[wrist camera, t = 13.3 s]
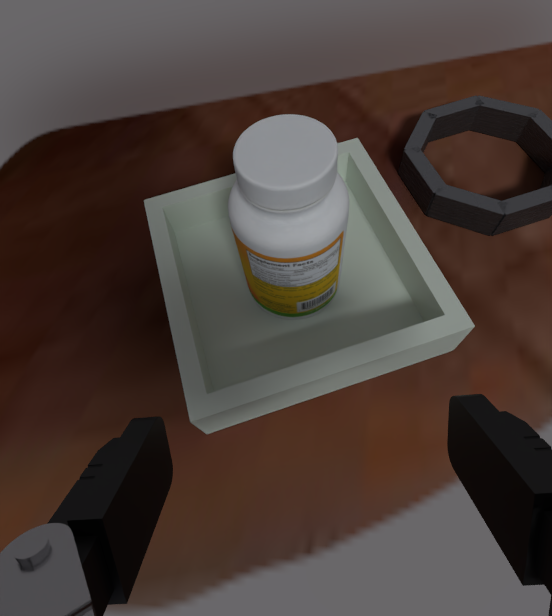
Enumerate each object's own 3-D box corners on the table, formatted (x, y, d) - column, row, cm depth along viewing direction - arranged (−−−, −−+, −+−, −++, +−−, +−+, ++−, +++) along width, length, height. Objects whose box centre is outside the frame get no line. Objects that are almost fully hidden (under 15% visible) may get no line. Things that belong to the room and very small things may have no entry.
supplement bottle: (266, 236, 25) (243, 92, 16) (349, 255, 24) (371, 111, 15) (235, 308, 23) (190, 187, 14) (325, 333, 22) (336, 217, 13)
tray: (206, 434, 20) (190, 422, 18) (161, 232, 27) (143, 200, 24) (453, 350, 21) (474, 326, 19) (352, 175, 28) (357, 137, 25)
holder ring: (448, 250, 24) (459, 229, 23) (379, 145, 29) (384, 122, 27) (590, 204, 25) (612, 181, 23) (502, 109, 30) (514, 84, 28)
